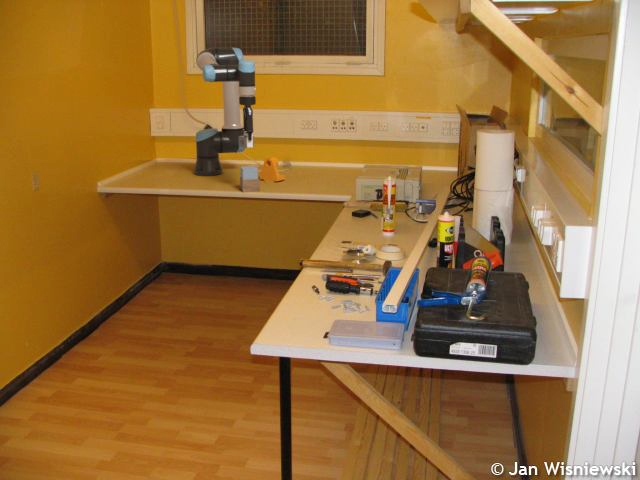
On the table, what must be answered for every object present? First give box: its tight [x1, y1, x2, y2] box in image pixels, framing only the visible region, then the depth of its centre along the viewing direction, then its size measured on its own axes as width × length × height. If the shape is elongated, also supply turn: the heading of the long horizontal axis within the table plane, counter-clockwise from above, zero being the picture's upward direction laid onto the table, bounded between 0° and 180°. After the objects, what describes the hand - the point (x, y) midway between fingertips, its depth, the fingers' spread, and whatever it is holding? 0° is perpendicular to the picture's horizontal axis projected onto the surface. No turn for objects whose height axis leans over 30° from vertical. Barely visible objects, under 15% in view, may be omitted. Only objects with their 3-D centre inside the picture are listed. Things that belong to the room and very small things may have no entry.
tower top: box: [240, 165, 259, 180], centre depth 319 cm, size 7×7×5 cm
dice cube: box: [239, 135, 255, 149], centre depth 314 cm, size 5×5×5 cm
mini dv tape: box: [414, 198, 437, 215], centre depth 277 cm, size 8×2×6 cm, turn 78°
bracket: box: [259, 156, 286, 183], centre depth 342 cm, size 11×7×12 cm, turn 57°
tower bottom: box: [239, 176, 261, 193], centre depth 321 cm, size 8×8×6 cm
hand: (248, 146), depth 315 cm, fingers closed on dice cube, 6 cm apart
